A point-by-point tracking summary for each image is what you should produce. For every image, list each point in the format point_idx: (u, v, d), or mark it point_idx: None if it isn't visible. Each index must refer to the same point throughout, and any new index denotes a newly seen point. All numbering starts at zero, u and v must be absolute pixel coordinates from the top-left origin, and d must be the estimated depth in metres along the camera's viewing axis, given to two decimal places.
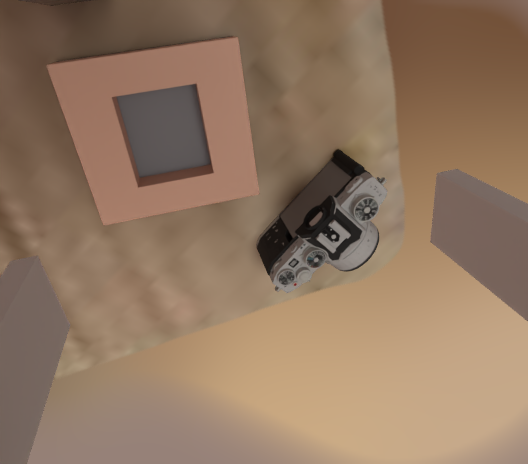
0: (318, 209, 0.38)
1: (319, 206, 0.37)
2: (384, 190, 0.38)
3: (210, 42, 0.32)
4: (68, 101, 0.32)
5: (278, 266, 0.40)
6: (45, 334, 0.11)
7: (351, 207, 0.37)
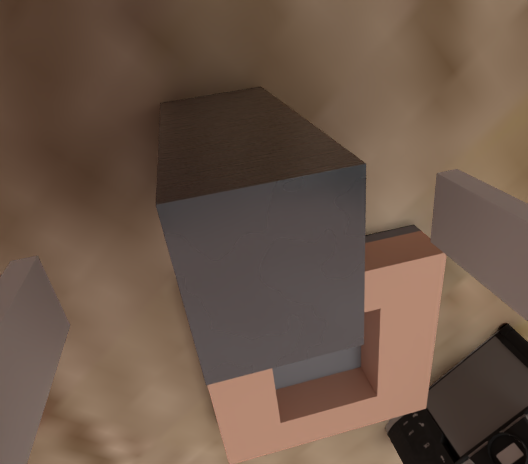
0: (508, 436, 0.28)
1: (512, 435, 0.27)
2: None
3: (410, 262, 0.23)
4: None
5: None
6: (45, 334, 0.11)
7: None
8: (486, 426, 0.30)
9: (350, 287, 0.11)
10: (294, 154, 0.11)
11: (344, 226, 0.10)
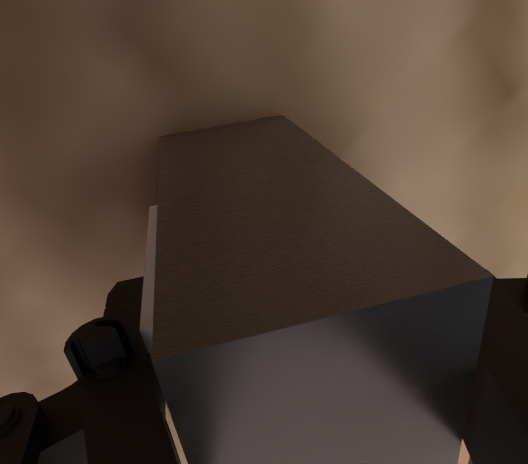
0: None
1: None
2: None
3: None
4: None
5: None
6: None
7: None
8: None
9: (443, 437, 0.08)
10: (364, 245, 0.07)
11: (447, 364, 0.07)
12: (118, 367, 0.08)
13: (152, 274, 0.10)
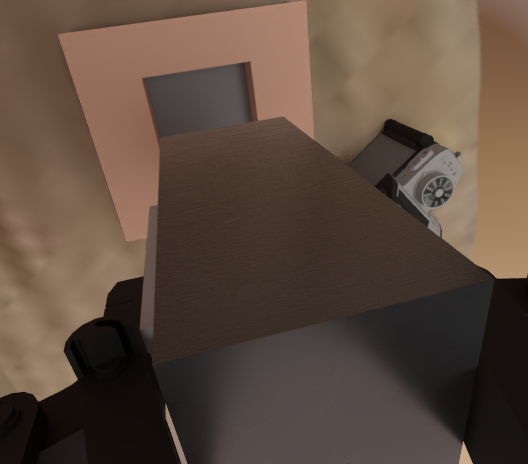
0: None
1: None
2: (460, 167, 0.29)
3: (270, 6, 0.25)
4: (85, 83, 0.24)
5: None
6: None
7: (417, 189, 0.28)
8: None
9: (444, 439, 0.08)
10: (364, 247, 0.07)
11: (448, 365, 0.07)
12: (118, 367, 0.08)
13: (152, 274, 0.10)
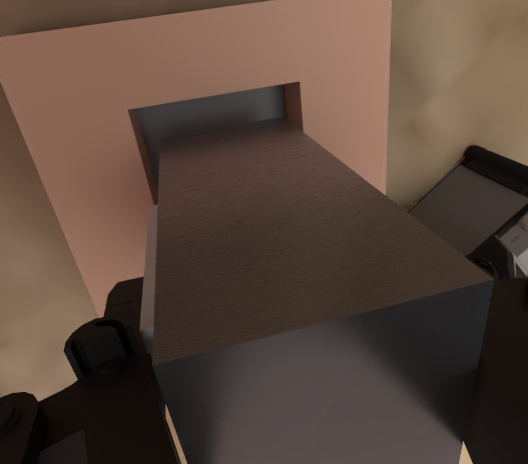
0: None
1: (474, 257, 0.18)
2: None
3: None
4: (36, 119, 0.15)
5: None
6: None
7: None
8: None
9: (444, 439, 0.08)
10: (365, 247, 0.07)
11: (447, 366, 0.07)
12: (118, 367, 0.08)
13: (152, 274, 0.10)
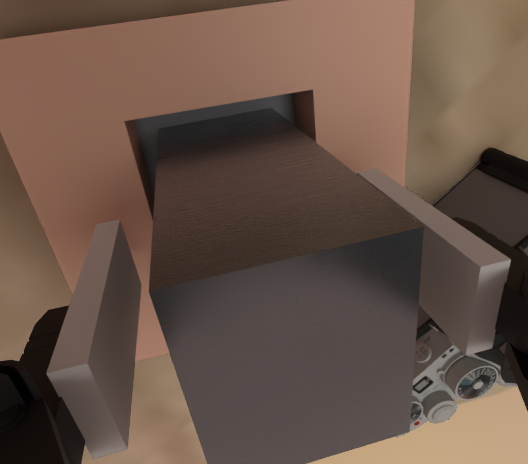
0: None
1: None
2: None
3: None
4: (23, 132, 0.14)
5: None
6: (130, 287, 0.13)
7: None
8: None
9: (396, 371, 0.09)
10: (326, 208, 0.08)
11: (393, 303, 0.08)
12: (15, 417, 0.07)
13: (78, 304, 0.09)
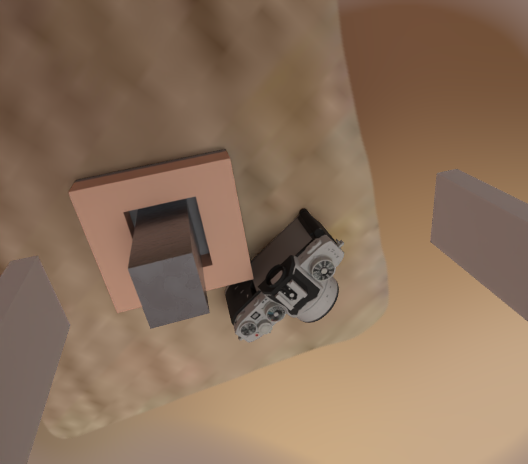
0: (279, 267, 0.41)
1: (280, 265, 0.40)
2: (341, 252, 0.41)
3: (206, 164, 0.38)
4: (86, 218, 0.37)
5: (241, 318, 0.42)
6: (45, 334, 0.11)
7: (310, 267, 0.40)
8: None
9: (197, 291, 0.33)
10: (175, 247, 0.32)
11: (190, 271, 0.32)
12: None
13: None
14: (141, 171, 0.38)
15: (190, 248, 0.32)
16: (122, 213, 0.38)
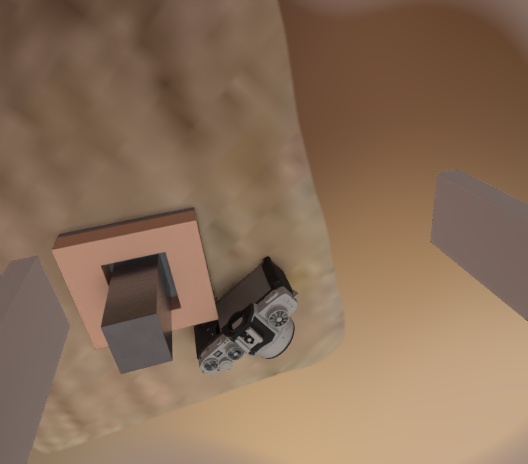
0: (240, 314, 0.46)
1: (241, 312, 0.46)
2: (295, 303, 0.46)
3: (175, 225, 0.43)
4: (68, 271, 0.43)
5: (205, 355, 0.48)
6: (45, 334, 0.11)
7: (267, 315, 0.46)
8: None
9: (161, 344, 0.38)
10: (142, 306, 0.37)
11: (154, 328, 0.37)
12: None
13: None
14: (117, 229, 0.43)
15: (155, 308, 0.37)
16: (100, 266, 0.43)
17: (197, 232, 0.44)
